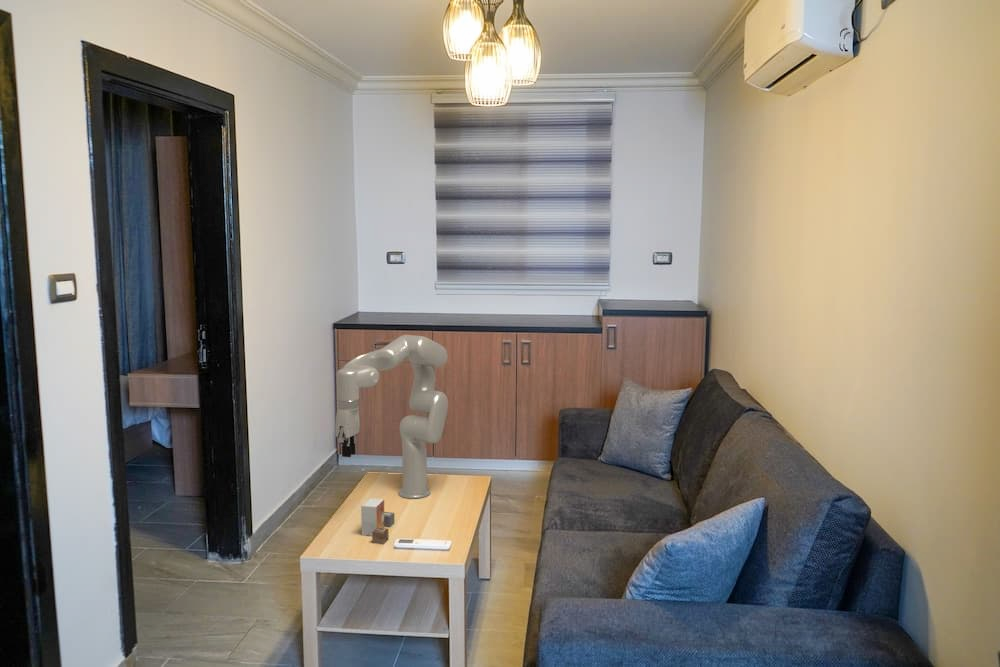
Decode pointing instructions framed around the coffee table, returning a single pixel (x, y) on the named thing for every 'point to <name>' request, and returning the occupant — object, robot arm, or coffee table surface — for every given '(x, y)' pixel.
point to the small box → (372, 515)
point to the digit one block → (388, 519)
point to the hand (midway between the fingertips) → (348, 455)
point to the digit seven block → (380, 536)
